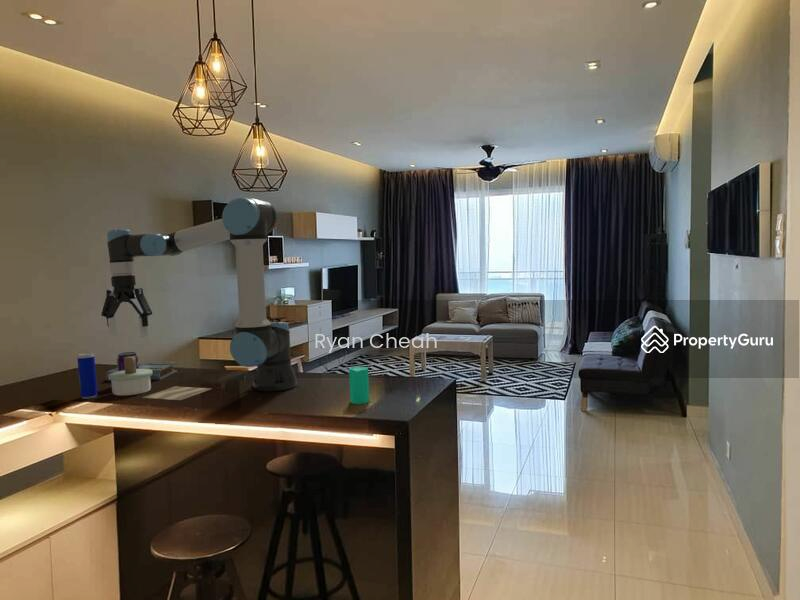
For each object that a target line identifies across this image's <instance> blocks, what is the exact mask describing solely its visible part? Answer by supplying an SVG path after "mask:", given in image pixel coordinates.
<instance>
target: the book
mask: <svg viewBox="0 0 800 600" xmlns="http://www.w3.org/2000/svg"><path fill="white" fill-rule="evenodd" d="M138 365H139V369H151V370H152V372H153V374H152V375H151V376H150V380H151V381H160V380H161V381H162V380H163V379H165V378H167V377H169V376H172V375H174V374H175V372H176V373H178V369H177V370H176V369H174V368H173V367H174V366H175V365H177V362H161V363H160V362H158V363H157V362H155V361H153V362H152V361H151V362H147V363H138ZM114 372H118V367H116V368H112V369H111V370H108V371H106V374H105V379H106V381H107V382H111V380H109V377H108V375H109V374H111V373H114ZM171 374H172V375H171Z"/></svg>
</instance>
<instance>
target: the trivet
mask: <svg viewBox="0 0 800 600" xmlns="http://www.w3.org/2000/svg"><path fill="white" fill-rule="evenodd" d="M212 389H213V388H208V387H189V386H178V385H177V386H176V385H175V386H172V387H170V388H166V389H163V390H160V391H158V392H157V391H156V392H154V393H151V394H148V395H145V396H142V397H141V398H142V399H156V400H157V399H158V400H171V401H183V400H185V399H189V398H191V397H194V396H197V395H199V394H202V393H204V392H208V391H210V390H212Z"/></svg>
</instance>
